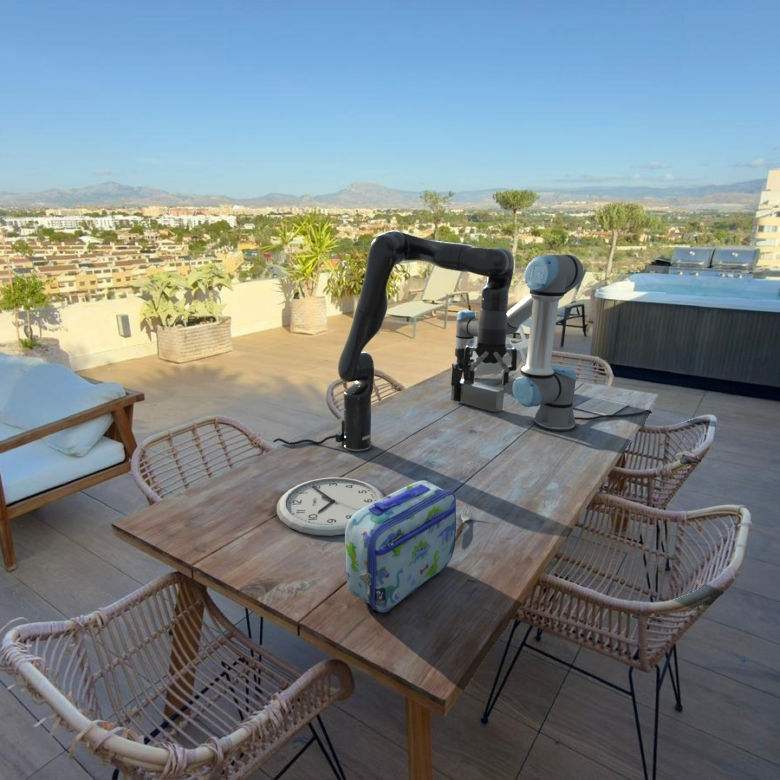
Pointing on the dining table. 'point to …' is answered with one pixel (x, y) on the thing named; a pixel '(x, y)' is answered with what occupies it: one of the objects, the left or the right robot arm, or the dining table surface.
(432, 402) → the dining table surface
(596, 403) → the invitation card
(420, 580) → the lunch box
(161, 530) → the dining table surface
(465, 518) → the fork
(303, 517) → the wall clock
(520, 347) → the white plastic object
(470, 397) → the box
